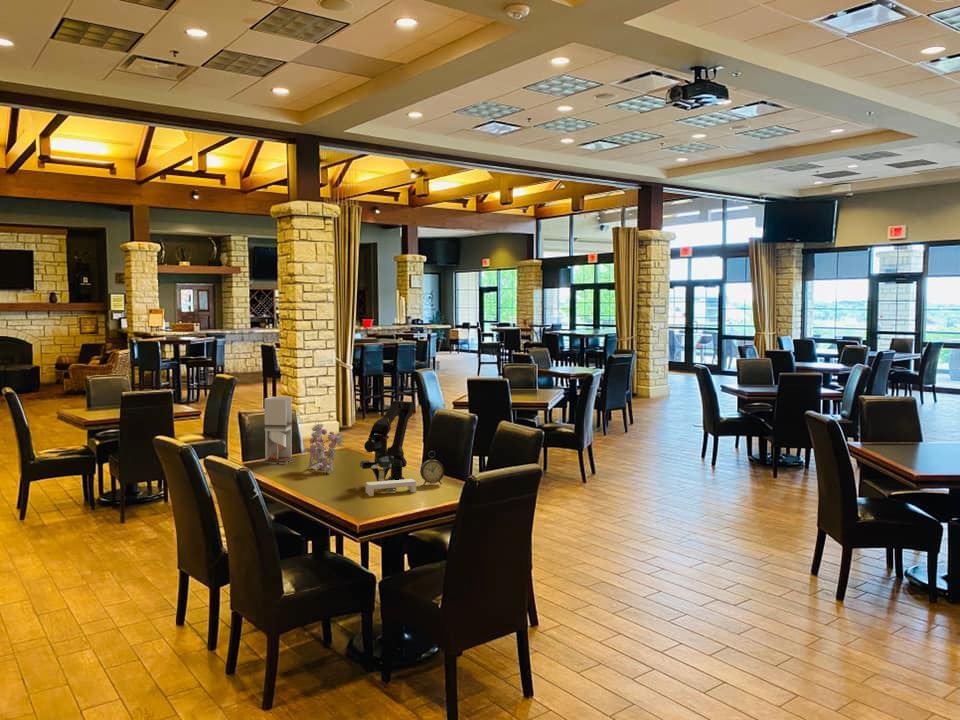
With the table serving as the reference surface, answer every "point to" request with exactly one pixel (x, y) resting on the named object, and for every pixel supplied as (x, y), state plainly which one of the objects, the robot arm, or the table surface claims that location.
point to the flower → (322, 448)
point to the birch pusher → (382, 479)
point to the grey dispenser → (278, 429)
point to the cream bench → (390, 485)
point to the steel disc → (390, 491)
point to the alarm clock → (432, 471)
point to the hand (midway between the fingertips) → (380, 481)
